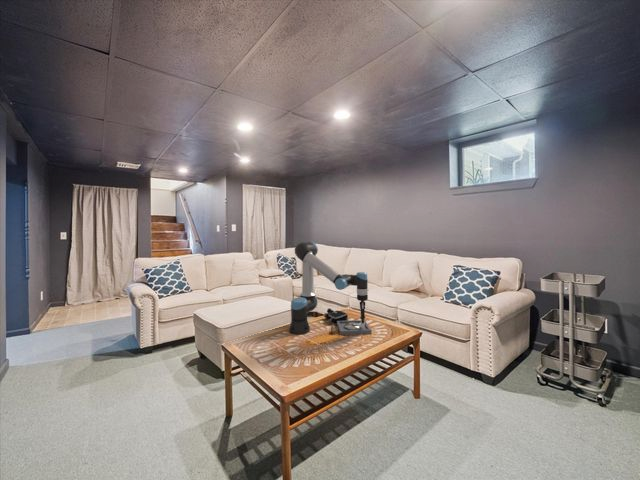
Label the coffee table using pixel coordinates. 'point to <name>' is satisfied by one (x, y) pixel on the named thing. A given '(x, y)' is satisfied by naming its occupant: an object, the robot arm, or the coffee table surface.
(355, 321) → the panel
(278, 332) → the coffee table surface
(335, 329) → the screwdriver
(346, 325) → the dial
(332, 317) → the film camera
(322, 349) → the coffee table surface
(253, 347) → the coffee table surface
